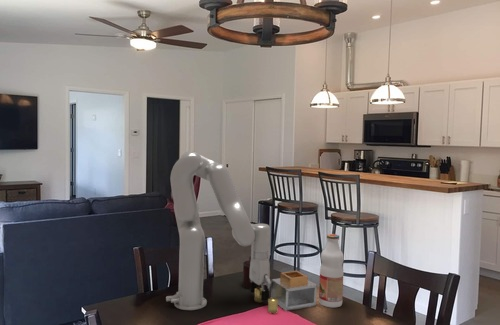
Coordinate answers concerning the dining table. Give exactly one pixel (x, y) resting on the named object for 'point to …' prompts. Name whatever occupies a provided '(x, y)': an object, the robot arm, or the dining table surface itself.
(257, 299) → the brass pellet
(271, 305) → the brass pellet
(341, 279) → the fruit juice
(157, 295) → the dining table surface
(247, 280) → the oil can
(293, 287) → the translucent plastic box
